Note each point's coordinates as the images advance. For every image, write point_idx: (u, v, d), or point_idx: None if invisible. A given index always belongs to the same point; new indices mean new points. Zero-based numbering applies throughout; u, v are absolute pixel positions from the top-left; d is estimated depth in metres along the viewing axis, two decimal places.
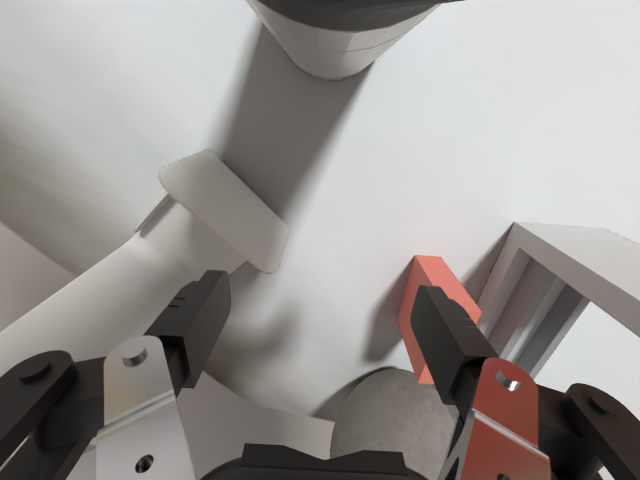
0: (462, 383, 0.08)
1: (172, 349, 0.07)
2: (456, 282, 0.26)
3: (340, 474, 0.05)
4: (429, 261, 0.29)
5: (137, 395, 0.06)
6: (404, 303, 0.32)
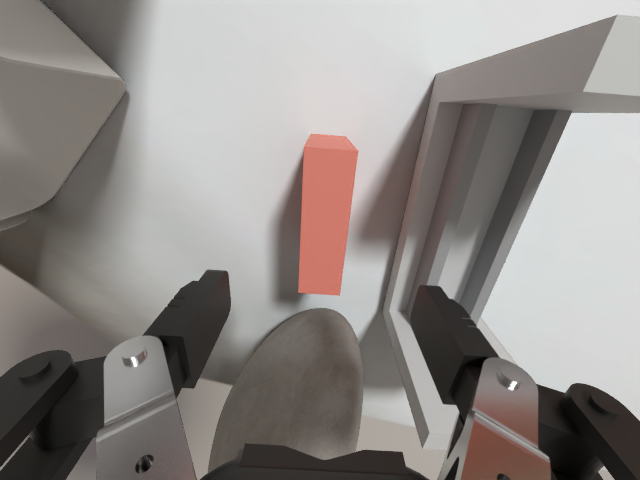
0: (462, 383, 0.08)
1: (172, 349, 0.07)
2: (345, 142, 0.18)
3: (340, 475, 0.05)
4: (325, 136, 0.21)
5: (137, 395, 0.06)
6: None
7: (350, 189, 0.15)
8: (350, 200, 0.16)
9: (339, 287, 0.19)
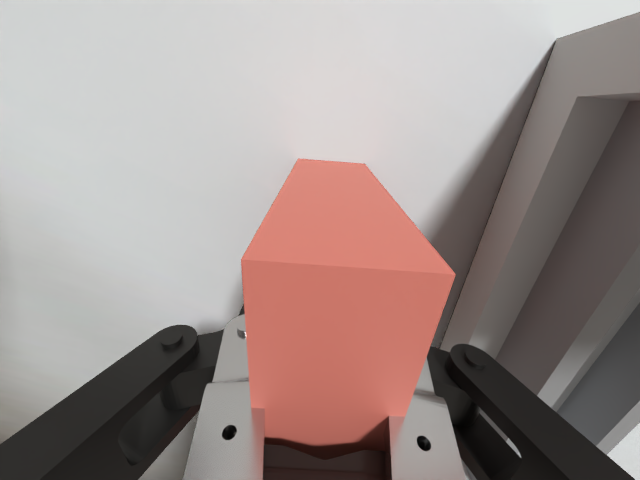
0: None
1: None
2: (376, 192, 0.07)
3: (340, 475, 0.05)
4: (325, 166, 0.11)
5: (239, 366, 0.06)
6: None
7: (409, 378, 0.05)
8: (406, 402, 0.05)
9: None
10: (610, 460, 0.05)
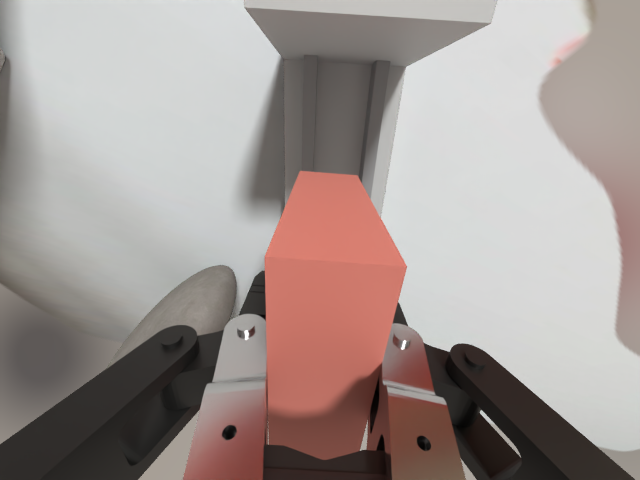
0: None
1: None
2: (363, 204, 0.09)
3: (339, 474, 0.05)
4: (324, 178, 0.12)
5: (239, 366, 0.06)
6: None
7: (381, 341, 0.06)
8: (379, 360, 0.07)
9: None
10: (610, 460, 0.05)
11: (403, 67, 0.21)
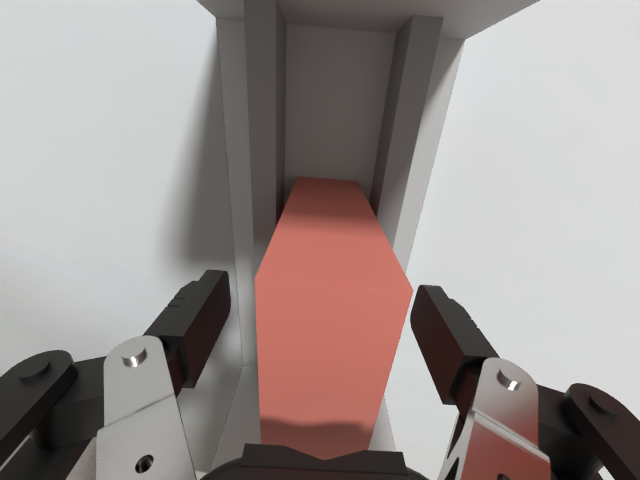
0: (462, 383, 0.08)
1: (172, 349, 0.07)
2: (363, 214, 0.09)
3: (340, 475, 0.05)
4: (322, 184, 0.12)
5: (137, 395, 0.06)
6: None
7: (383, 369, 0.06)
8: (381, 388, 0.06)
9: None
10: None
11: (460, 40, 0.11)
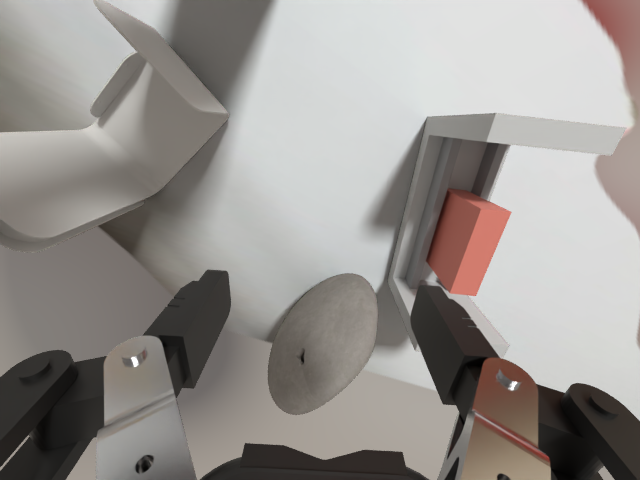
0: (462, 383, 0.08)
1: (172, 349, 0.07)
2: (484, 200, 0.29)
3: (340, 474, 0.05)
4: (457, 191, 0.32)
5: (136, 395, 0.06)
6: None
7: (501, 232, 0.26)
8: (499, 238, 0.27)
9: (477, 290, 0.29)
10: None
11: (509, 144, 0.31)
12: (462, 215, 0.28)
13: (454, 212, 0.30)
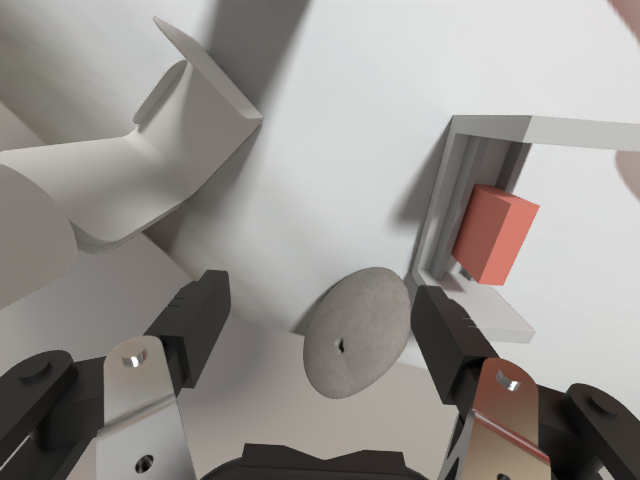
0: (462, 383, 0.08)
1: (172, 349, 0.07)
2: (510, 194, 0.31)
3: (340, 475, 0.05)
4: (482, 186, 0.34)
5: (137, 395, 0.06)
6: None
7: (529, 225, 0.28)
8: (527, 231, 0.28)
9: (504, 280, 0.31)
10: None
11: None
12: (490, 209, 0.30)
13: (482, 206, 0.32)
